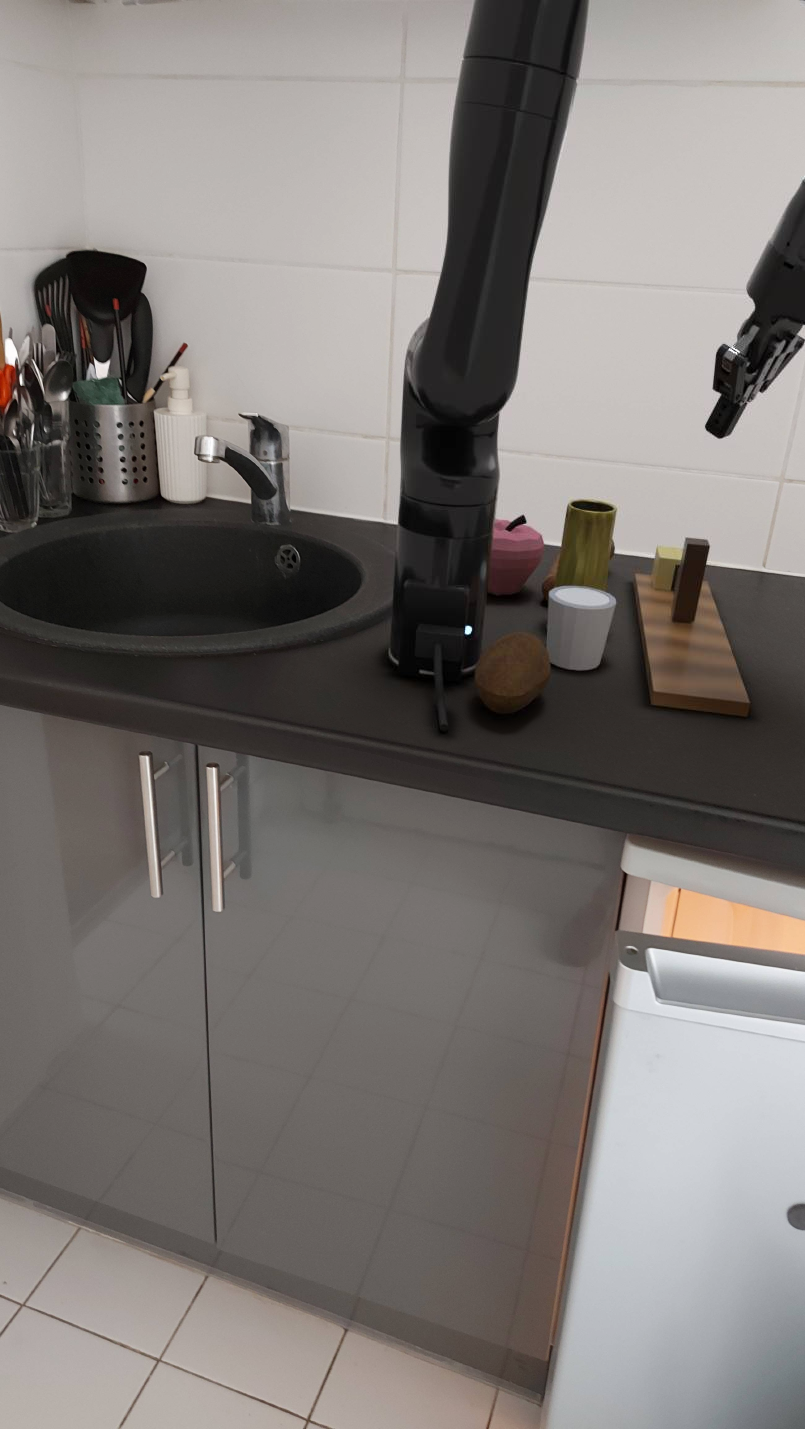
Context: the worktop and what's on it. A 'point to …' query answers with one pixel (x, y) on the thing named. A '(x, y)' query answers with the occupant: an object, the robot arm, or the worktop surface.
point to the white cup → (578, 626)
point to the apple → (513, 555)
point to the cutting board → (687, 654)
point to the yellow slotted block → (665, 566)
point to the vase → (586, 544)
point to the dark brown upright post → (689, 579)
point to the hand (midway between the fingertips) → (715, 433)
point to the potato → (512, 672)
